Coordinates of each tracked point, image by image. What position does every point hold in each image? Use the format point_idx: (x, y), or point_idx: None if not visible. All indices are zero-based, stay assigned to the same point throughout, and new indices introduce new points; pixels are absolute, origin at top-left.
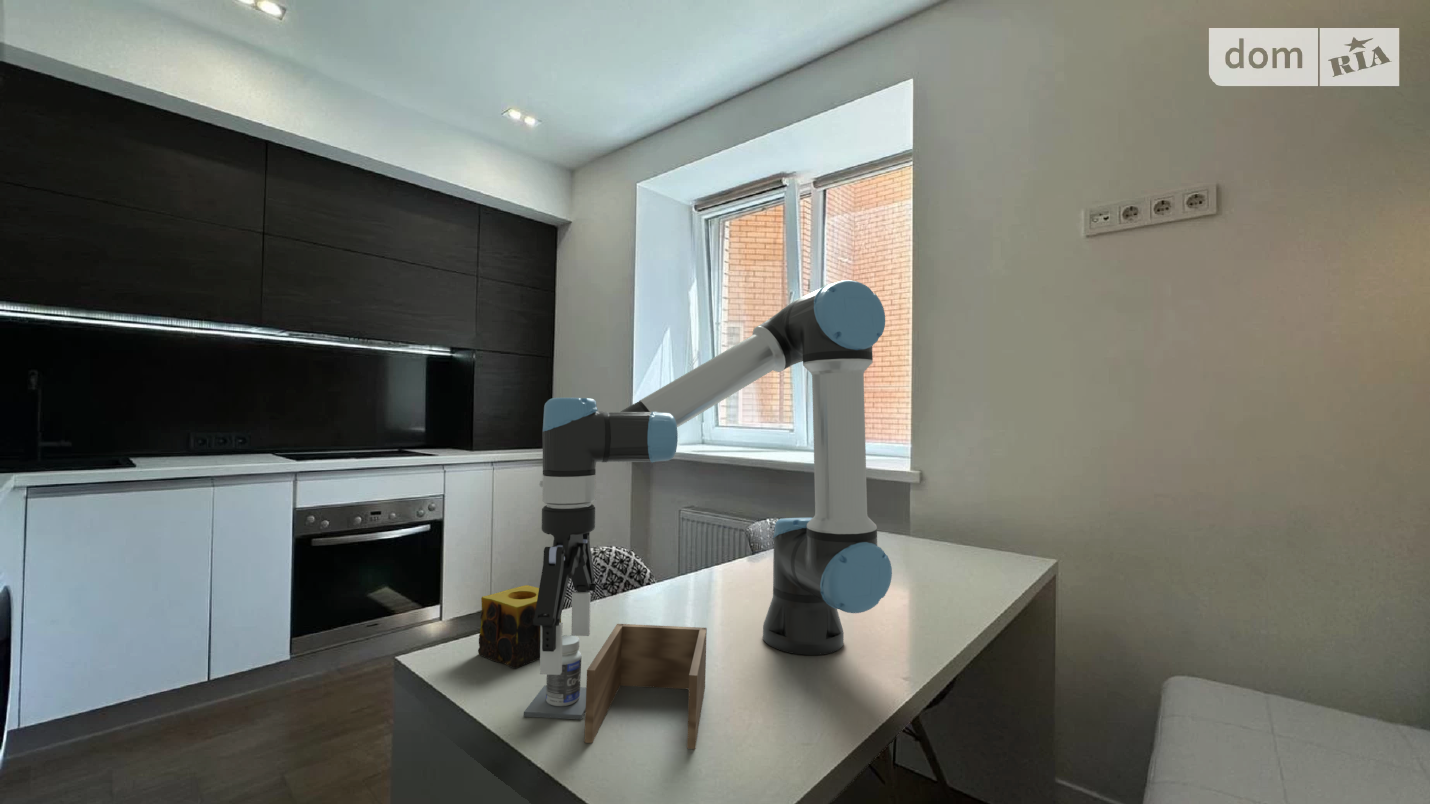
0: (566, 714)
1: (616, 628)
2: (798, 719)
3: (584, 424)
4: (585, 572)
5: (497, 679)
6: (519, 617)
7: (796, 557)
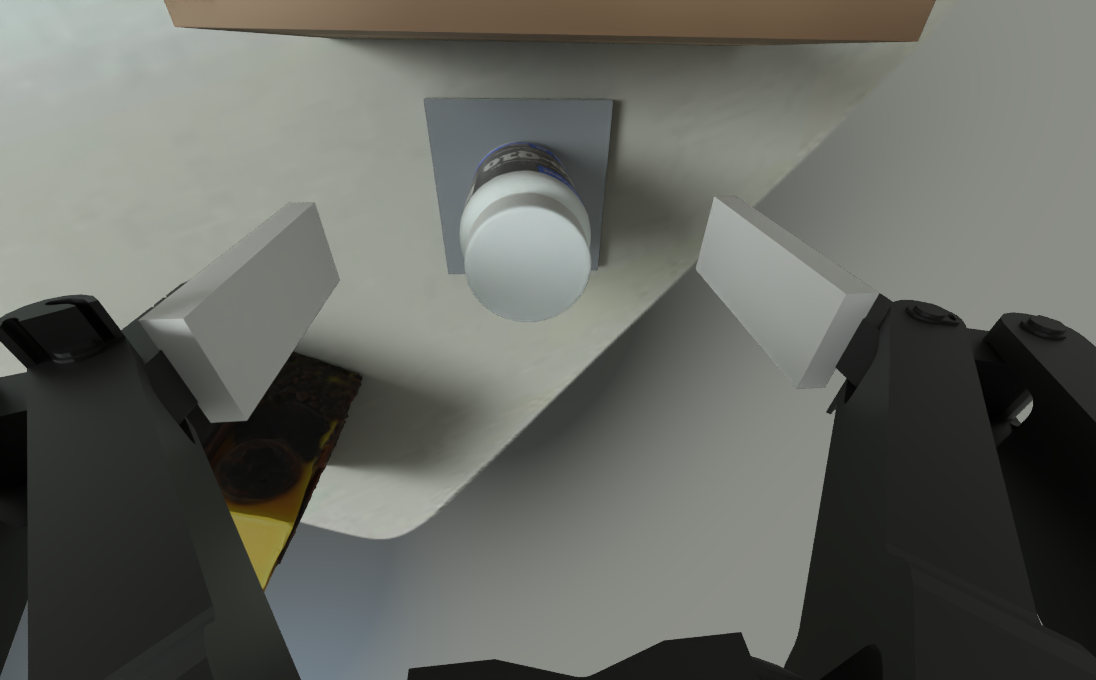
0: (607, 152)
1: (269, 7)
2: None
3: None
4: (144, 501)
5: (426, 386)
6: (298, 485)
7: None
